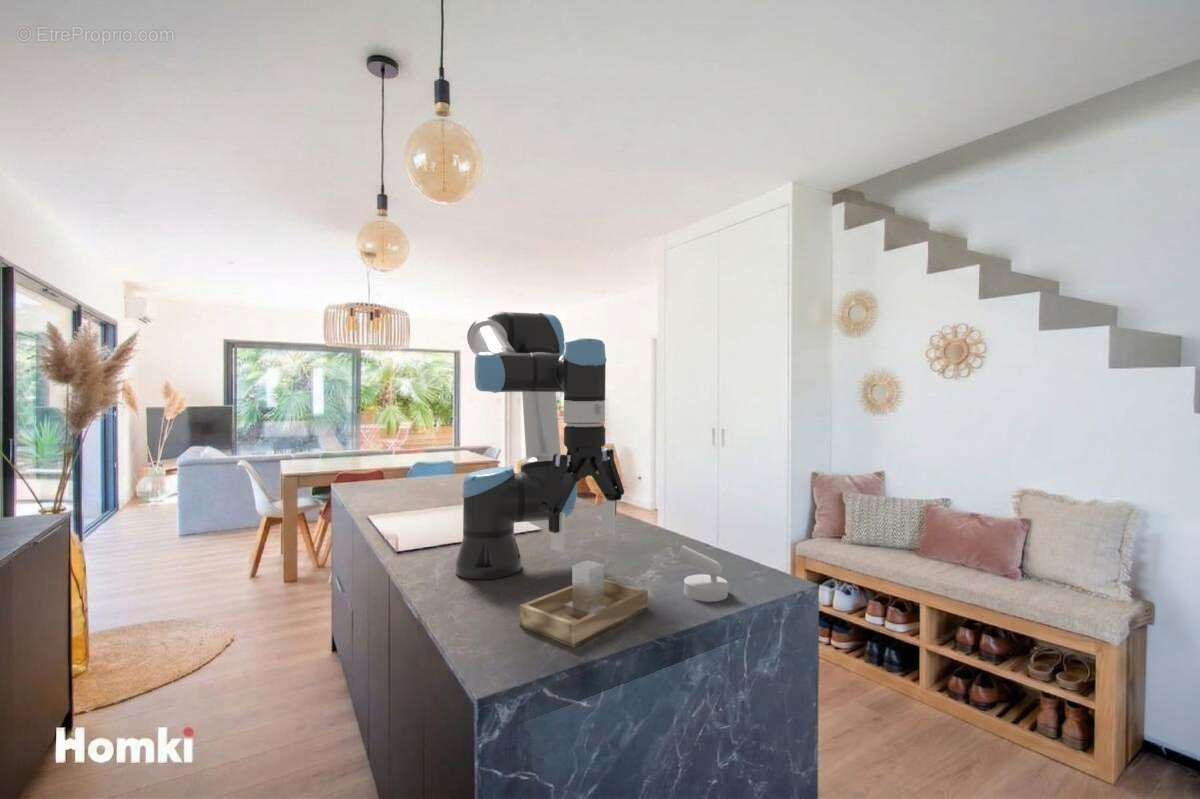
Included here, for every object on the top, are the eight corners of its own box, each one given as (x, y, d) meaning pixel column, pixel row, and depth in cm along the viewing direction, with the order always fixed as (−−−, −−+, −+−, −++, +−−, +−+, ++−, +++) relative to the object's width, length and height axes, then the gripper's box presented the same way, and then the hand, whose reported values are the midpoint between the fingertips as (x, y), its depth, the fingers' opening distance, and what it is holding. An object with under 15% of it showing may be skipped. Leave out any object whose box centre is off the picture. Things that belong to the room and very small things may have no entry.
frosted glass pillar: (564, 612, 95) (564, 563, 95) (579, 606, 98) (579, 558, 98) (597, 624, 90) (597, 572, 90) (612, 617, 93) (612, 566, 93)
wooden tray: (519, 625, 91) (519, 605, 91) (595, 593, 106) (595, 576, 106) (573, 647, 83) (573, 625, 83) (647, 609, 98) (647, 590, 98)
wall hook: (677, 539, 112) (726, 541, 110) (678, 584, 111) (726, 587, 109) (675, 550, 103) (727, 553, 101) (675, 599, 103) (728, 603, 101)
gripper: (549, 429, 83) (549, 563, 83) (642, 422, 102) (642, 531, 102) (517, 427, 88) (518, 553, 88) (612, 421, 107) (612, 525, 107)
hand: (584, 542), depth 95 cm, fingers open, 13 cm apart
